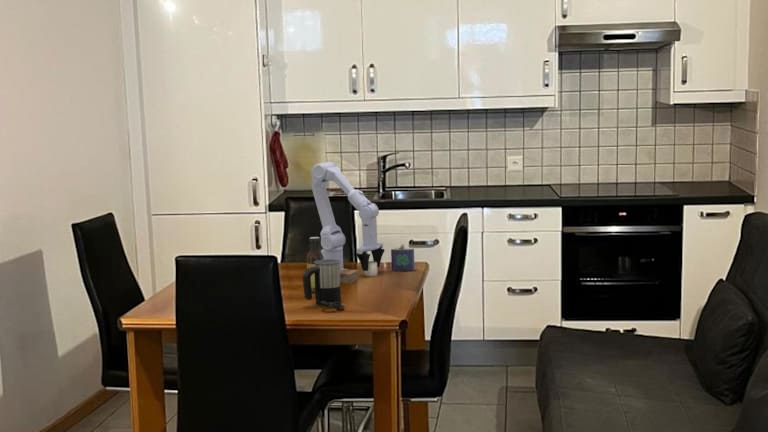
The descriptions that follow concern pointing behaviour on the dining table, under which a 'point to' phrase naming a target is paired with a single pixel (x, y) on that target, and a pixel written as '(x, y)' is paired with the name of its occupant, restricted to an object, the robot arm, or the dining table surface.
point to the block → (348, 276)
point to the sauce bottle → (314, 257)
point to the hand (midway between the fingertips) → (371, 268)
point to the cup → (371, 269)
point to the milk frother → (324, 283)
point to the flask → (402, 259)
